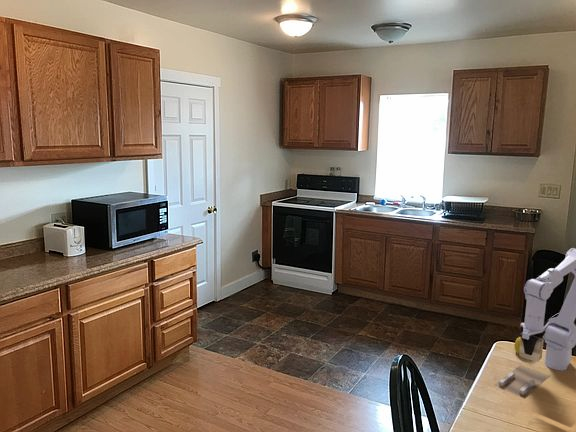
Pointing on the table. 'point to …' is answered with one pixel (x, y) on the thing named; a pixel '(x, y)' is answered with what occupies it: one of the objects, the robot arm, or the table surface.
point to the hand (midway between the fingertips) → (530, 351)
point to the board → (522, 381)
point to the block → (536, 353)
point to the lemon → (517, 344)
